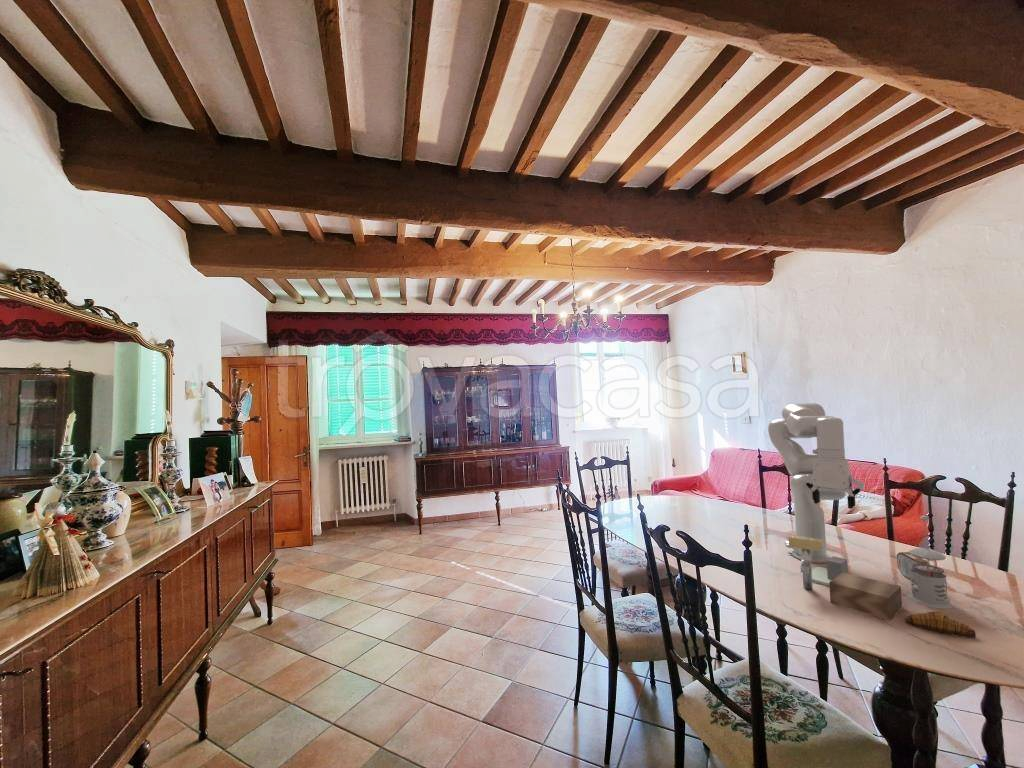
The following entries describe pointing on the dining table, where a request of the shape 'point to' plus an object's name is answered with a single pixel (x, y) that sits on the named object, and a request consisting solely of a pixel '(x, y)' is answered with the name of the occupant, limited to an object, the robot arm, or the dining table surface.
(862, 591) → the housing
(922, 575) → the french press
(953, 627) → the croissant
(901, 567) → the tin
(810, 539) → the key
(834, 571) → the cover
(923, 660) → the dining table surface
